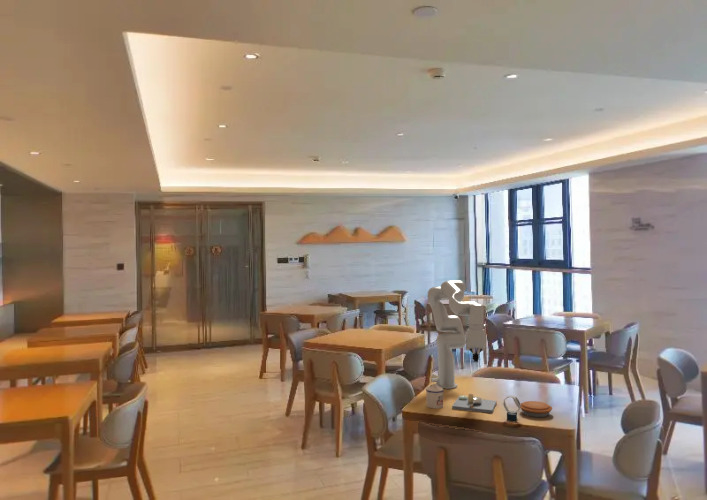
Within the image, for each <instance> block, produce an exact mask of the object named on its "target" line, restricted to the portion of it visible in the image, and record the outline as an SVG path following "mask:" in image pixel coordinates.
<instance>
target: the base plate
mask: <svg viewBox="0 0 707 500" xmlns="http://www.w3.org/2000/svg"><path fill="white" fill-rule="evenodd" d="M468 404H469V403H468V396H467V395H458V397H457V399H456V400H455V401H454V403H453V404H452V406H451V409H452V410H459V411H468V412H479V413H485V414H486V413H487V414H493V413H494V410H495V408H496V406H497V400H494V399H493V400H492V399H484V398H482V403H481V404H474V405H473V406H469V405H468Z"/></svg>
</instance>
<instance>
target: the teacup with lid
mask: <svg viewBox="0 0 707 500" xmlns="http://www.w3.org/2000/svg"><path fill="white" fill-rule="evenodd" d="M425 391H426V393H425V394H426V397H425V398H426V407H427V408H430V409H442V408H444V388H441V387H439V386H437V384H436V382H433V383H432V385H431V386H427V387H426V389H425Z"/></svg>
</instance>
